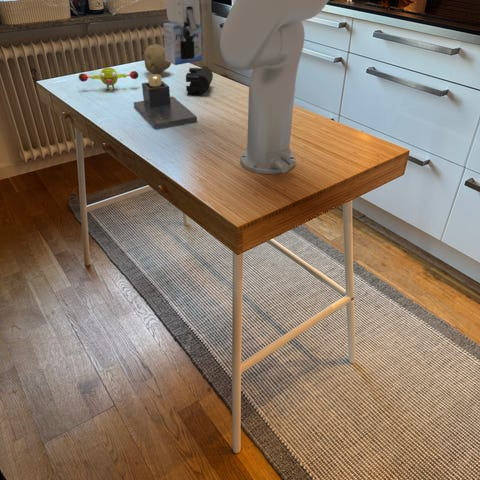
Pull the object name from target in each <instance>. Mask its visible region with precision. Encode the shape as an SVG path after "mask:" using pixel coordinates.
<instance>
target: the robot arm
mask: <svg viewBox="0 0 480 480" xmlns="http://www.w3.org/2000/svg"><path fill="white" fill-rule="evenodd" d="M329 1H330V0H235V2H234V4H233V6H232V7H231V9H230V11H229V13H228V15H227V17H226V19H225V21H224V24H223V26H222V29H221V32H220V37H219V47H220V48H219V49H220V53H221V56H222V58H223V59H222V60H223V61H224V62H225V63H226V64H227V66H229V67H230V68H232V69H234V70H237V71H241V72H242V71H243V72H244V71H250V70H252V71H251V73H250V74H251V75H250V78H249V84H248V85H249V86H248V106H247V107H248V110H247V111H248V113H247V141H246V143H247V144H246V145H247V147H246V149H244V150H243V152H241V154H240V156H239V159H240V160H239V161H240V164H241V165H242V167H243V168H245V169H246V170H248V171H250V172H252V173H253V172H254V173H257V174H263V175H267V174H268V175H277V174H282V173H283V174H285V173H288V172H289V171H290V170H292V169H293V167H295V165H296V157H295V155H294V154H293V153H292V152H291V151H292V149H290V146H291V136H292V125H293V113H294V101H295V92H296V81H297V73H298V69H299V64H300V60H301V56H302V53H303V50H304V44H305V27H304V23H303V21H308V20H310V19H313V18H315V17H316V16H317V15H319V14H320V13H321V12H322V10H323V9H324V8H325V7H326V5H327V4H328V3H329ZM165 6H166V7H165V8H166V15H167V19H168V21H169V23H171V22H172V23H174V24H176V25H178V26H179V27H180V29H181V37H182V41H180V42H181V58H182V59H192V58H194V40H195V38H194V36H195V32H196V30H197V28H196V27H198V26H199V25H200V23H201V13H200V11H201V10H200V0H165ZM184 24H188V25H189V26H185V25H184ZM184 26H185V27H184ZM187 29H188V31H186V34H185V30H187Z"/></svg>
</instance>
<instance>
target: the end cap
mask: <svg viewBox="0 0 480 480" xmlns="http://www.w3.org/2000/svg"><path fill="white" fill-rule="evenodd" d="M213 78H214V75H213V71H212V69H211V68H210V67H208V66H206V65H202V67H199V68H198V67H189V69H188V72H187V73H186V75H185V82H186V83H189V85H186V86H185V87H186V88H185V89H186V96H188V97H203V95H205V94H206V93H207V92H208V90H209V89H210V86H211V84H212V81H213Z"/></svg>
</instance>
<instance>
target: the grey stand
mask: <svg viewBox="0 0 480 480" xmlns="http://www.w3.org/2000/svg"><path fill="white" fill-rule="evenodd" d="M161 81H162V87H157V88H149V82H143V83H141V88H142V96H143V100H141V101H134V102H133V107H134V109H135V110H136V111H137V112H138V113H139V115H141V117H142V118H143V119H144V120H145V121H146V122H147V123H148V124H149V125H150V126H151V127H152V128H153V129H154V130H161V129H165V128H170V127H177V126H182V125H188V124H189V125H190V124H195V123H198V117H197V116H196V115H195V114H194V113H193V112H192V111H191V110H190V109H188V108H187V107H186V106H185V105H184V104H182V103H181V102H180V101H179V100H178V99H177V98H176V97H174V96H171V94H170V93H171V92H170V86H169V85H168V84H167V83H165V82H164V81H163V80H161Z"/></svg>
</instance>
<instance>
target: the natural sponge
mask: <svg viewBox="0 0 480 480" xmlns="http://www.w3.org/2000/svg"><path fill="white" fill-rule="evenodd" d="M143 60H144V67H145V69H146V71H147V72H149V73H151V74H159V75H161V74H163V72H164V71H166V70H168V69H169V68H170V67H171V65H172V63H170V62H168V61H166V60H165V46H163V45H160V44H158V43H154V44H150V45H148V46H147V47H146V48H145V50H144V51H143Z"/></svg>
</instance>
